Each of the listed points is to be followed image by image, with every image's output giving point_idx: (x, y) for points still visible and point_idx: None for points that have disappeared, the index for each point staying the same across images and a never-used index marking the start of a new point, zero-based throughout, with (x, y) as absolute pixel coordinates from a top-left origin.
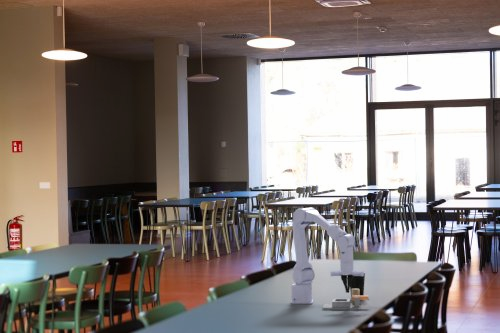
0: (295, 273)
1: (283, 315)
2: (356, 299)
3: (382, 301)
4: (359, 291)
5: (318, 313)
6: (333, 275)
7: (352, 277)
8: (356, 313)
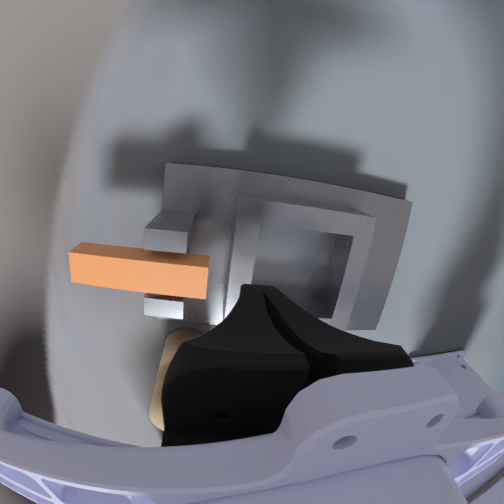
0: None
1: None
2: (172, 226)
3: (71, 391)
4: (151, 400)
5: (428, 102)
6: (473, 417)
7: (170, 373)
8: (200, 46)
